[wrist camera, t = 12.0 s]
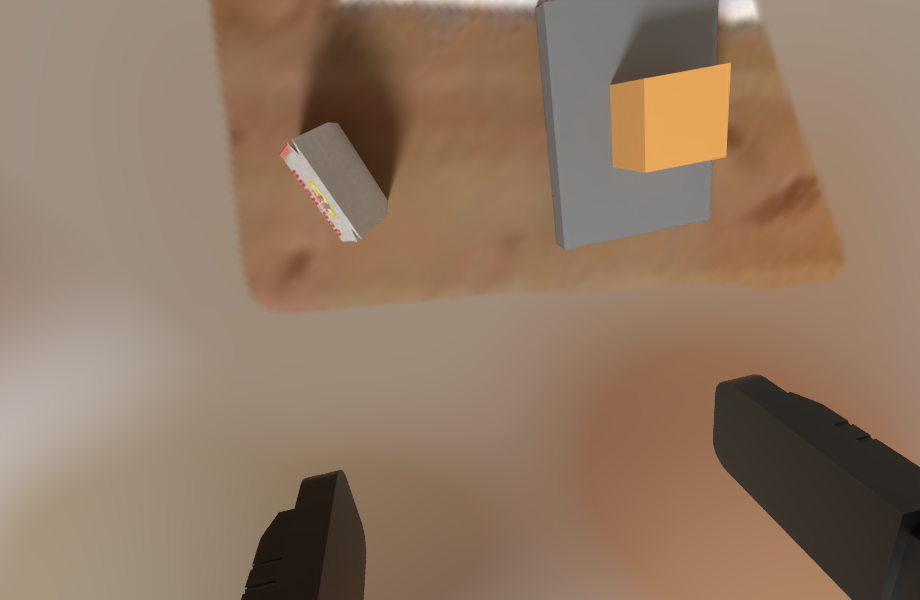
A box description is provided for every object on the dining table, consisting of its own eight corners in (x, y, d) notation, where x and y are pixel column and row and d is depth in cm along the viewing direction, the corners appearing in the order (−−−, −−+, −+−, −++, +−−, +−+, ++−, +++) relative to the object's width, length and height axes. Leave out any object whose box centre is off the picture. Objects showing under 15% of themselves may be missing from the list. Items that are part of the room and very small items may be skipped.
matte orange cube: (609, 85, 34) (644, 78, 29) (685, 71, 34) (730, 62, 30) (613, 166, 36) (645, 173, 32) (683, 153, 37) (726, 156, 32)
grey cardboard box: (337, 123, 34) (317, 121, 25) (387, 200, 37) (386, 225, 27) (297, 149, 34) (262, 157, 25) (349, 224, 37) (335, 256, 28)
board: (535, 9, 33) (561, -13, 28) (701, -20, 34) (756, -45, 29) (556, 244, 40) (580, 261, 35) (695, 215, 41) (738, 228, 36)
